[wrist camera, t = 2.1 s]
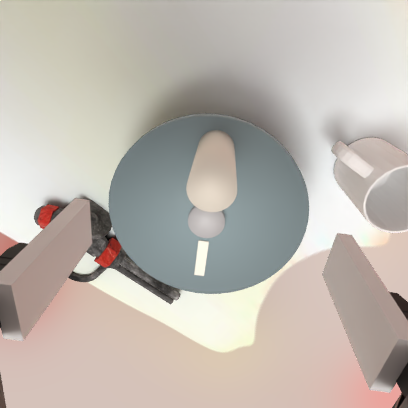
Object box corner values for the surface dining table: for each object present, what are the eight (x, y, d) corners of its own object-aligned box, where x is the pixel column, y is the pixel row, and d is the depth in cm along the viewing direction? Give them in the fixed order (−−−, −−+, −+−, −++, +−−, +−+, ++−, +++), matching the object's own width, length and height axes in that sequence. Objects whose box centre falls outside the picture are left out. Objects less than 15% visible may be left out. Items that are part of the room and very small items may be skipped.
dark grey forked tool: (25, 230, 53) (63, 175, 45) (148, 306, 60) (198, 271, 53) (0, 256, 47) (39, 200, 40) (138, 336, 55) (192, 302, 48)
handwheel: (280, 295, 41) (299, 379, 31) (115, 273, 41) (77, 349, 31) (330, 128, 31) (383, 170, 20) (110, 100, 31) (52, 127, 21)
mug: (408, 159, 41) (462, 193, 31) (362, 203, 44) (398, 245, 35) (340, 103, 38) (377, 122, 29) (296, 154, 41) (316, 185, 32)
